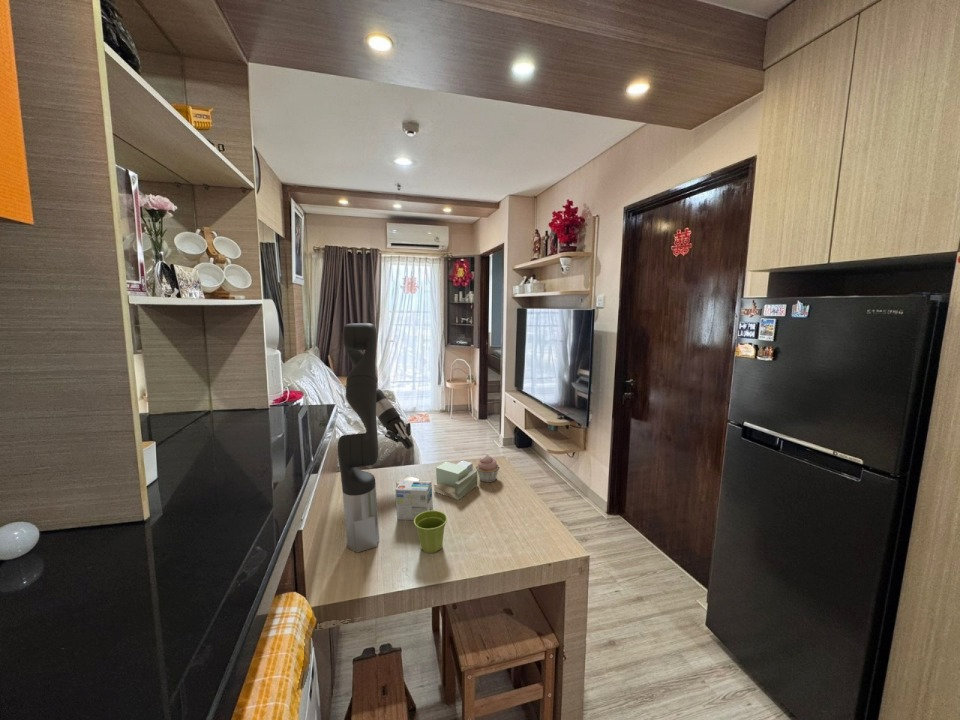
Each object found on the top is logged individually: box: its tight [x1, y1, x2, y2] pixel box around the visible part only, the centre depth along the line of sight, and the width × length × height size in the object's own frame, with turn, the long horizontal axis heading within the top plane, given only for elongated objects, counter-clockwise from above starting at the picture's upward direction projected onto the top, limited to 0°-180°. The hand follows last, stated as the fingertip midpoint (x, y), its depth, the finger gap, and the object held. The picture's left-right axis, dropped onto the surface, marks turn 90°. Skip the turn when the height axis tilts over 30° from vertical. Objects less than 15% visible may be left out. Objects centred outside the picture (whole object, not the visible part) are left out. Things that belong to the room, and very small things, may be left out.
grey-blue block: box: [456, 460, 474, 474], centre depth 157 cm, size 5×5×5 cm
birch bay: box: [433, 469, 478, 501], centre depth 147 cm, size 11×12×6 cm
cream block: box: [395, 475, 421, 489], centre depth 143 cm, size 6×6×6 cm
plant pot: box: [413, 510, 448, 554], centre depth 114 cm, size 9×9×9 cm
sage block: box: [435, 461, 468, 488], centre depth 148 cm, size 10×6×8 cm, turn 58°
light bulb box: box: [394, 479, 434, 521], centre depth 130 cm, size 11×7×11 cm, turn 84°
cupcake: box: [475, 454, 501, 483], centre depth 154 cm, size 9×9×10 cm
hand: (410, 447), depth 154 cm, fingers closed
